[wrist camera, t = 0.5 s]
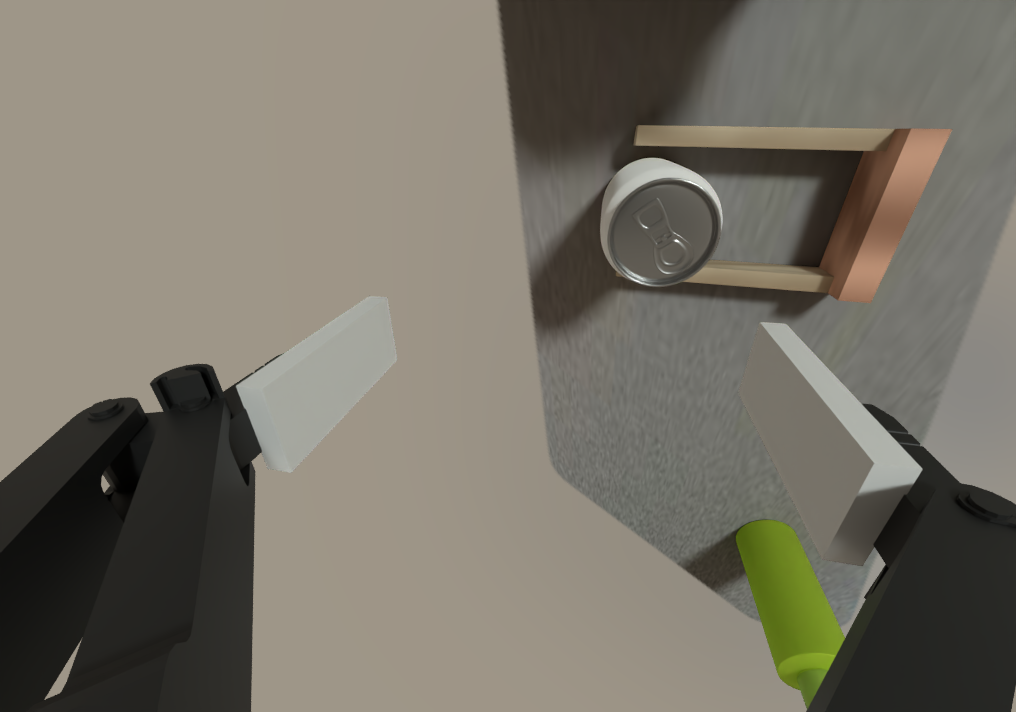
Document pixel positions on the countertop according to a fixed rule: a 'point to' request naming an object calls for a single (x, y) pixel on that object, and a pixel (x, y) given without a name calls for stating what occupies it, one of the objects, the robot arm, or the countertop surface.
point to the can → (659, 222)
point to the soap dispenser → (790, 605)
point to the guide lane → (864, 215)
